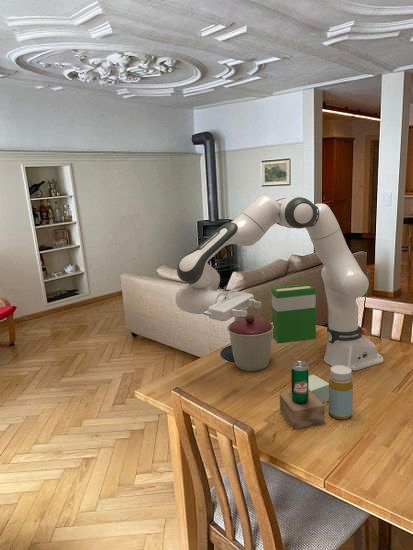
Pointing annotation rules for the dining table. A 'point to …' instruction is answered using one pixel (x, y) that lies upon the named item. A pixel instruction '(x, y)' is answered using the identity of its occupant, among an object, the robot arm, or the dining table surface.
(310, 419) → the walnut block
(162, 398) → the dining table surface
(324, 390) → the sage block
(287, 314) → the green cereal box
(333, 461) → the dining table surface
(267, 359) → the canister
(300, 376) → the soda can
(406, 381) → the dining table surface
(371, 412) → the dining table surface
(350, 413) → the bottle
